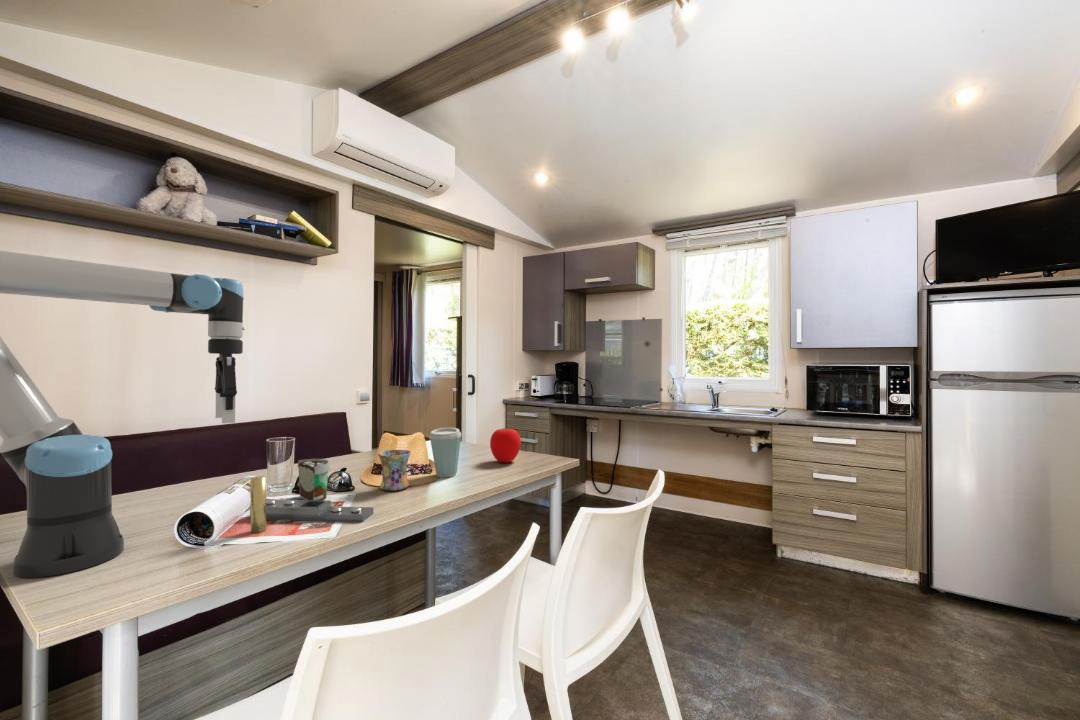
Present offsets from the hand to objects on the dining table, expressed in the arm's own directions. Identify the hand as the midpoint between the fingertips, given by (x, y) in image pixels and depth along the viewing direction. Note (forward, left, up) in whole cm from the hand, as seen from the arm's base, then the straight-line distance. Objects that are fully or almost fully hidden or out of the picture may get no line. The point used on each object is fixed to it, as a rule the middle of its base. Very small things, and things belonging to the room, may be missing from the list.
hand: (224, 420), depth 123 cm
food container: (+9, -20, -23) cm, 32 cm away
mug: (+20, -37, -23) cm, 48 cm away
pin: (-16, -20, -23) cm, 34 cm away
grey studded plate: (-6, -27, -23) cm, 35 cm away
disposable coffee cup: (+35, -49, -23) cm, 64 cm away
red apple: (+55, -66, -23) cm, 89 cm away
